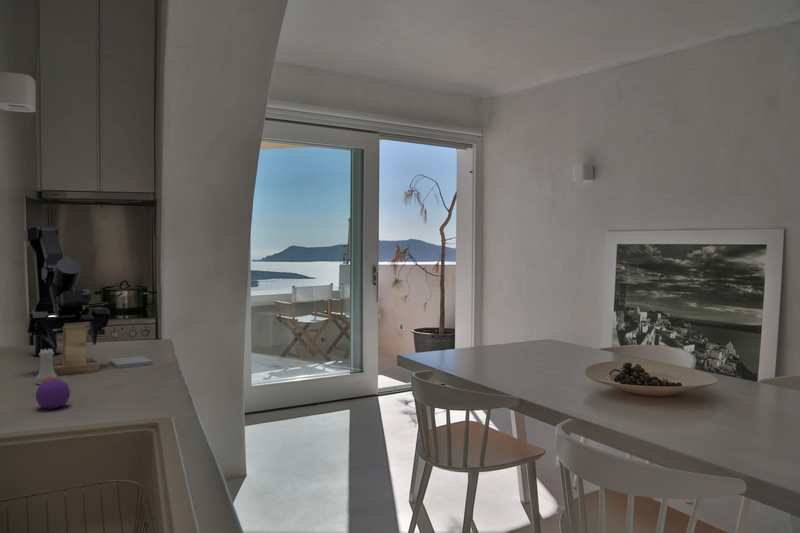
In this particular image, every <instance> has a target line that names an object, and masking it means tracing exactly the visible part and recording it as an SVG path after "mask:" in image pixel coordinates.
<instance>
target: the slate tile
mask: <svg viewBox="0 0 800 533" xmlns="http://www.w3.org/2000/svg"><path fill="white" fill-rule="evenodd" d="M108 364H110V365H111V366H113V367H114V368H116V369H124V368H125V369H126V368H133V367H142V366H152V365H153V360H151V359H149V358H147V357H145V356H143V355H141V356H140V355H139V356H132V357H131V356H129V357H123V358H122V357H121V358H110V359H108Z"/></svg>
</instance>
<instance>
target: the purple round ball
mask: <svg viewBox="0 0 800 533" xmlns="http://www.w3.org/2000/svg"><path fill="white" fill-rule="evenodd" d="M70 390H71V389H70V387H69V385H68V383H66V382H65V381H64V380H63V379H58V378H57V377H56V378H55V377H52V376H50V377H46V378H44V379H43V380H42V382H41V385H39V386H38V387H37V389H36V392H35V400H36V401H37V403H38V405H39V406H40V407H41V408H43V409H46V408H55V409H59V408H60V407H64V406H65V405H66V403H67V402H68V400H69V398H70V396H71V391H70ZM58 407H59V408H58Z"/></svg>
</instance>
